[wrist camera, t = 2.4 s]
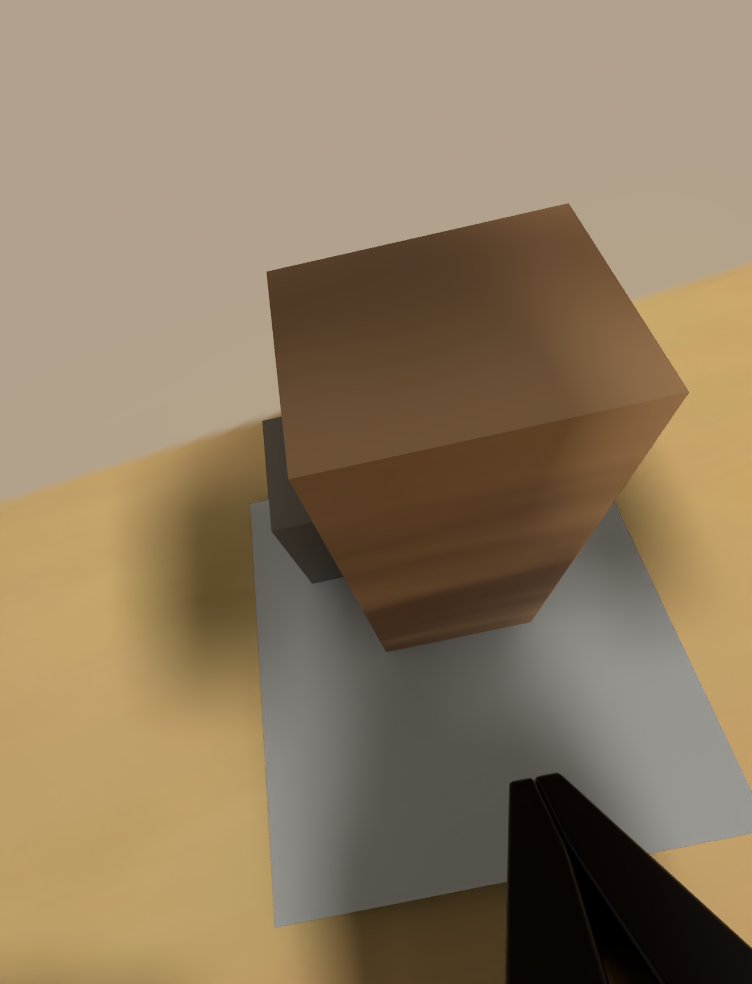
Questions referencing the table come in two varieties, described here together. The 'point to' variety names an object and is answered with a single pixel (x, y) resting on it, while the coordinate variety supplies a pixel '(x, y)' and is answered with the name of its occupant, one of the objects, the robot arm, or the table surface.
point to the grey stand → (466, 723)
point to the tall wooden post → (463, 415)
